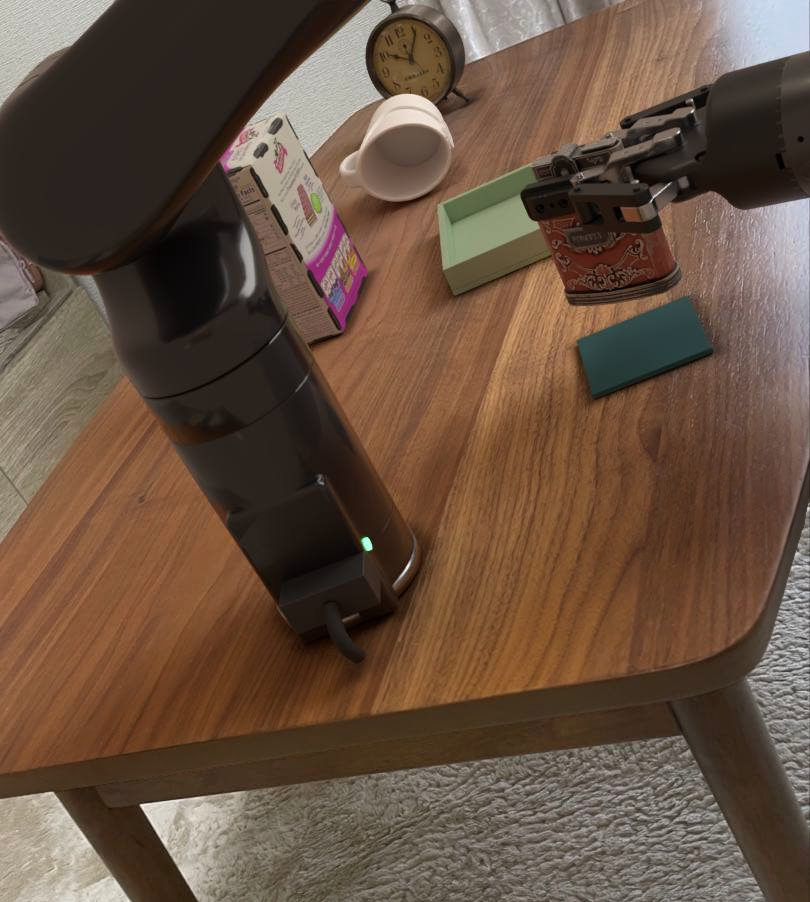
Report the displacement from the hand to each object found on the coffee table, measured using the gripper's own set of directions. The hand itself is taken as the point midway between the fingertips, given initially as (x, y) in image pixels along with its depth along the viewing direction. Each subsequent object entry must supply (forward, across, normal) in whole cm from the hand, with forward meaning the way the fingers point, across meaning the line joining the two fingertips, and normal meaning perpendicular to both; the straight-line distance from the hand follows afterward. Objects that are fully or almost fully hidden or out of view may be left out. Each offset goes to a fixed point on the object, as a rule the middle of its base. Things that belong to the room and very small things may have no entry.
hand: (540, 187), depth 77 cm
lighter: (-3, 0, +8) cm, 9 cm away
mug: (+37, -36, +12) cm, 53 cm away
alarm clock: (+44, -57, +12) cm, 73 cm away
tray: (+17, -21, +12) cm, 30 cm away
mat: (-3, 0, +12) cm, 13 cm away
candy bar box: (+32, -12, +12) cm, 37 cm away
